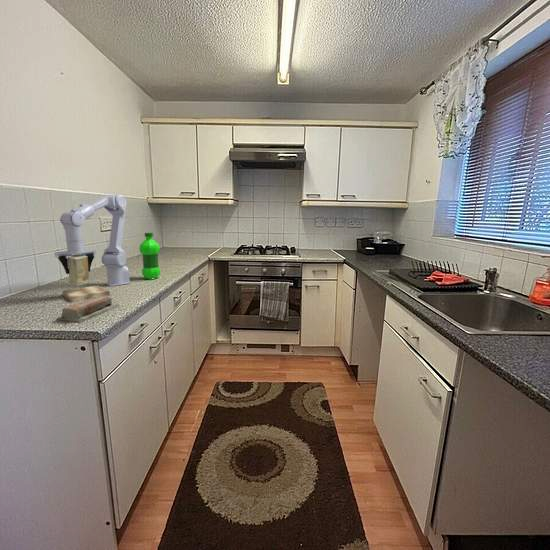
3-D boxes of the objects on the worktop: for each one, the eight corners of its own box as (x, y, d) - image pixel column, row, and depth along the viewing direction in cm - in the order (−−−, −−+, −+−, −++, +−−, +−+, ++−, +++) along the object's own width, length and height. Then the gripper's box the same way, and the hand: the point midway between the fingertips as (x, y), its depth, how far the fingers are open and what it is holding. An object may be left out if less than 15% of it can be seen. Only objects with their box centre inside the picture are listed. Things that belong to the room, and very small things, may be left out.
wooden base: (98, 289, 138) (98, 285, 137) (109, 295, 129) (109, 290, 128) (62, 295, 127) (62, 290, 127) (72, 301, 118) (71, 297, 118)
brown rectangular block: (80, 309, 96) (54, 307, 98) (82, 323, 97) (56, 321, 99) (118, 295, 113) (96, 293, 115) (120, 307, 114) (97, 305, 116)
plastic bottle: (149, 281, 157) (146, 233, 152) (137, 278, 162) (134, 232, 157) (165, 277, 165) (162, 233, 160) (153, 275, 170) (150, 232, 165)
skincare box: (77, 286, 125) (75, 259, 121) (69, 284, 125) (66, 257, 122) (90, 282, 131) (88, 255, 127) (81, 280, 131) (79, 254, 128)
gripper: (90, 239, 132) (94, 269, 135) (51, 241, 122) (55, 273, 124) (96, 240, 128) (99, 271, 130) (55, 242, 117) (59, 275, 120)
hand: (78, 272), depth 127 cm, fingers closed on skincare box, 7 cm apart
